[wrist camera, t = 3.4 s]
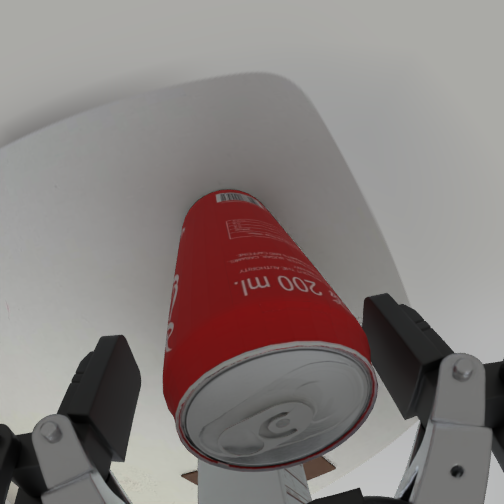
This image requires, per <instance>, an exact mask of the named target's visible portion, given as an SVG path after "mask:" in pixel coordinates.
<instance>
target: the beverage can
mask: <svg viewBox="0 0 504 504" xmlns="http://www.w3.org/2000/svg"><path fill="white" fill-rule="evenodd" d="M377 390H378V383H377V379H376V375H375V371H374V368H373V367H372V364H371V350H370V347H369V343H368V339H367V336H366V334H365V332H364V330H363V329H362V327H361V326H360V324H359V323H358V321H357V320H356V318H355V317H354V316H353V314H352V313H351V312H350V311H349V309H348V308H347V307H346V305H345V304H344V303H343V302H342V300H341V299H340V298H339V297H338V295H337V294H336V293H335V292H334V290H333V289H332V288H331V287H330V285H329V284H328V283H327V282H326V280H325V279H324V278H323V277H322V275H321V274H320V273H319V272H318V270H317V269H316V268H315V267H314V266H313V264H312V263H311V262H310V261H309V259H308V258H307V257H306V256H305V254H304V253H303V252H302V251H301V250H300V248H299V247H298V246H297V245H296V244H295V242H294V241H293V240H292V239H291V238H290V236H289V235H288V234H287V233H286V232H285V230H284V229H283V228H282V227H281V226H280V224H279V223H278V222H277V221H276V220H275V218H274V217H273V216H272V215H271V214H270V213H269V211H268V210H267V209H266V208H265V207H264V205H263V204H262V203H261V202H259V201H258V200H257V199H256V198H255V197H253V196H251V195H249V194H248V193H245V192H242V191H238V190H219V191H216V192H212V193H210V194H208V195H206V196H204V197H202V198H201V199H200V200H198V201H197V202H196V203H195V204H194V205H193V206H192V207H191V209H190V210H189V212H188V213H187V215H186V217H185V220H184V223H183V226H182V232H181V238H180V244H179V250H178V256H177V263H176V269H175V276H174V283H173V290H172V297H171V305H170V313H169V321H168V329H167V338H166V347H165V357H164V367H163V394H164V397H165V400H166V403H167V406H168V409H169V411H170V412H171V414H172V415H173V417H174V419H175V423H176V429H177V432H178V435H179V438H180V440H181V442H182V443H183V445H184V446H185V447H186V448H187V450H188V451H189V452H191V453H192V454H193V455H194V456H196V457H197V458H198V459H200V460H202V461H204V462H206V463H208V464H210V465H213V466H216V467H219V468H223V469H227V470H233V471H240V472H264V471H274V470H280V469H285V468H290V467H293V466H296V465H300V464H303V463H306V462H308V461H311V460H313V459H316V458H318V457H320V456H322V455H324V454H326V453H328V452H329V451H331V450H333V449H335V448H336V447H337V446H339V445H340V444H342V443H343V442H345V441H346V440H347V439H348V438H349V437H351V436H352V435H353V434H354V433H355V432H356V431H357V430H358V429H359V428H360V427H361V425H362V424H363V423H364V422H365V421H366V419H367V418H368V416H369V414H370V412H371V411H372V409H373V407H374V404H375V401H376V398H377Z"/></svg>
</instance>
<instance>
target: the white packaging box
mask: <svg viewBox="0 0 504 504" xmlns="http://www.w3.org/2000/svg"><path fill="white" fill-rule="evenodd" d="M311 501H312V499H311V495H310V492H309V488H308V484H307V480H306V476H305V472H304V468H303V464H300V465H296V466H293V467H290V468H285V469H280V470H274V471H264V472H240V471H233V470H227V469H223V468H219V467H216V466H213V465H210V464H208V463H206V462H204V461H202V460H200V459H198V504H306V503H309V502H311Z"/></svg>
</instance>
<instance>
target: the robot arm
mask: <svg viewBox="0 0 504 504" xmlns="http://www.w3.org/2000/svg"><path fill="white" fill-rule="evenodd" d="M362 329H363V330H364V332H365V334H366V336H367V339H368V343H369V347H370V350H371V362H372V364H373V366H374V367H375V369H376V371H377V373H378V374H379V376H380V378H381V379H382V381H383V383H384V384H385V386H386V388H387V390H388V391H389V393H390V395H391V397H392V398H393V400H394V402H395V404H396V405H397V407H398V409H399V411H400V412H401V414H402V416H403V418H404V419H405V420H406V419H409V418H412V417H414V416H418V418H419V420H420V423H419V425H418V429H417V432H416V436H415V440H414V444H413V448H412V451H411V454H410V457H409V461H408V464H407V467H406V470H405V473H404V476H403V478H402V480H401V483H400V485H399V487H398V489H397V492H396V494H395V496H394V498H390V497H381V496H365V497H363V495H362V493H361V490H360V488H357V489H353V490H350V491H346V492H343V493H339V494H335V495H332V496H327V497H324V498H319V499H315V500H313V501H311V502H309V503H306V504H484V500H485V494H486V488H487V482H488V475H489V468H490V459H491V450H492V452H493V454H494V456H495V457H496V459H497V461H498V463H499V464H500V466H501V468H502V470H503V472H504V359H503V361H501V362H495V363H488V364H482V363H481V362H480V360H478V359H477V358H476V357H474V356H472V355H469V354H466V353H454V352H453V351H452V350H451V348H450V347H449V346H448V345H447V344H446V343H445V342H444V341H443V340H442V338H441V337H440V336H439V335H438V334H437V333H436V332H435V331H434V330H433V329H432V328H430V325H429V324H428V323H427V322H426V321H424V319H423V318H422V317H421V316H420V315H419V314H418V313H417V312H416V311H415V310H414V309H412V308H410V307H408V306H406V305H404V304H401V305H398V304H397V303H396V301H395V300H394V299H393V298H392V297H391V296H390V295H389V294H388V293H384V294H380V295H375V296H371V297H367V298H365V300H364V308H363V324H362ZM140 388H141V375H140V371H139V368H138V366H137V364H136V361H135V359H134V357H133V354H132V352H131V350H130V347H129V345H128V342H127V340H126V338H125V337H124V336H123V335H114V336H102V337H101V338H100V340H99V342H98V344H97V346H96V348H95V350H94V352H90V353H89V354H88V355H87V356H86V357H85V358H84V359H83V360H82V361H81V362H80V364H79V366H78V368H77V370H76V374H74V377H73V379H72V383H70V385H69V387H68V389H67V392H66V394H65V396H64V398H63V401H62V403H61V405H60V407H59V410H58V412H57V414H53V415H49V416H46V417H45V418H43V419H41V420H40V421H39V422H38V423H37V424H36V426H35V427H34V429H33V432H32V433H26V434H20V435H15V434H14V433H13V432H12V431H11V430H10V428H9V427H8V426H6V425H4V424H0V504H5V500H6V497H7V493H8V490H9V486H10V483H11V481H12V482H14V483H15V484H16V485H17V486H18V487H19V489H18V492H17V496H16V500H15V504H133V503H132V502H131V500H130V499H129V497H128V496H127V494H126V493H125V491H124V490H123V488H122V487H121V485H120V484H119V482H118V480H117V479H116V477H115V476H114V474H113V472H112V471H111V470H110V465H111V461H115V462H124V461H125V456H126V451H127V446H128V441H129V436H130V431H131V427H132V422H133V418H134V413H135V409H136V404H137V400H138V396H139V392H140Z"/></svg>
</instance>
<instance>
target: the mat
mask: <svg viewBox="0 0 504 504" xmlns="http://www.w3.org/2000/svg"><path fill="white" fill-rule="evenodd" d="M303 468H304V472H305V476H306V480H310V479H312V478H315V477H317V476H320V475H322V474H325V473H327V472H329V471H332V470H334V469H336V468H335V467H334V466H333V465H331V464H330V463H329V462H328V461H327V460H325V459H324V458H323V457H322V456H320V457H318V458H316V459H313V460H311V461H308V462H306V463H303ZM181 477H183V478H185V479H187V480H189V481H191V482H193V483H194V484H196V485H198V471H195V472H191V473H188V474H184V475H181Z"/></svg>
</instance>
